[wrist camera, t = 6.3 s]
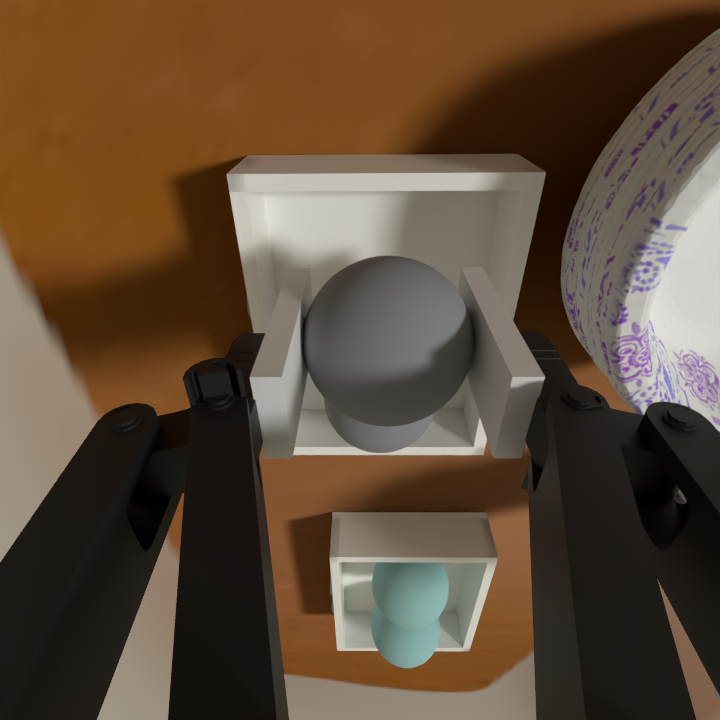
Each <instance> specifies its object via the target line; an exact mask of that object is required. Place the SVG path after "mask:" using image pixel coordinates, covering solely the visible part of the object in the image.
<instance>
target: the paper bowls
mask: <svg viewBox="0 0 720 720" xmlns="http://www.w3.org/2000/svg"><path fill="white" fill-rule="evenodd" d="M561 291H562V298H563V303H564V306H565V310H566V314H567V316H568V320H569V323H570V325H571V327H572V329H573V331H574V334H575V335H576V337H577V338H578V340H579V341H580V343H581V344H582V346H583V347H584V348H585V350H586V351H587V352H588V354H589V355H590V357H591V358H592V360H593V361H594V363H595V364H596V366H597V367H598V368H599V370H600V371H602V372H603V374H604V375H605V376H606V377H607V378H608V380H609V381H610V383H611V385H612V386H613V387H614V389H615V390H616V391H617V393H618V394H619V395H620V396H621V398H622V399H623V400H624V401H625V402H626V403H627V404H628V405H629V406H630V407H631V409H632V410H633V411H634V412H636V413H637V414H639V415H644V414H645V412H646V409H647V407H648V406H649V405H651V404H653V403H654V402H663V401H665V402H672V403H678V404H681V405H685V406H687V407H689V408H691V409H693V410H695V411H697V412H699V413H700V414H702V415H703V416H704V417H705V418H706V419H708V420H709V421H710V422H711V423H712V424H713V426H714V427H715V428H716V429H717V430H718V431H719V432H720V28H719V29H718V30H716V31H715V32H714V33H712V34H711V35H709V36H708V37H707V38H705V39H704V40H703V41H702V42H701V43H699V44H698V45H697V46H696V47H695V48H693V49H692V50H691V51H690V52H689V53H687V54H686V55H685V56H684V57H683V58H682V59H681V60H680V61H679V62H678V63H677V64H676V65H675V66H673V67H672V68H671V69H670V70H669V71H668V72H667V73H666V74H665V75H664V76H663V77H662V78H661V79H660V80H659V81H658V82H657V83H656V84H655V85H654V86H653V88H652V89H651V90H650V91H649V92H648V93H647V94H646V95H645V96H644V97H643V98H642V100H641V101H640V102H639V103H638V104H637V106H636V107H635V108H634V109H633V110H632V112H631V113H630V114H629V115H628V116H627V118H626V119H625V120H624V122H623V123H622V125H621V126H620V128H619V129H618V130H617V131H616V133H615V134H614V135H613V137H612V138H611V139H610V141H609V142H608V143H607V145H606V146H605V148H604V149H603V151H602V153H601V154H600V156H599V157H598V159H597V160H596V162H595V164H594V166H593V168H592V170H591V172H590V174H589V176H588V178H587V180H586V182H585V184H584V186H583V188H582V190H581V193H580V196H579V199H578V201H577V203H576V205H575V207H574V211H573V214H572V217H571V220H570V223H569V226H568V229H567V233H566V236H565V240H564V244H563V251H562V266H561Z"/></svg>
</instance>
